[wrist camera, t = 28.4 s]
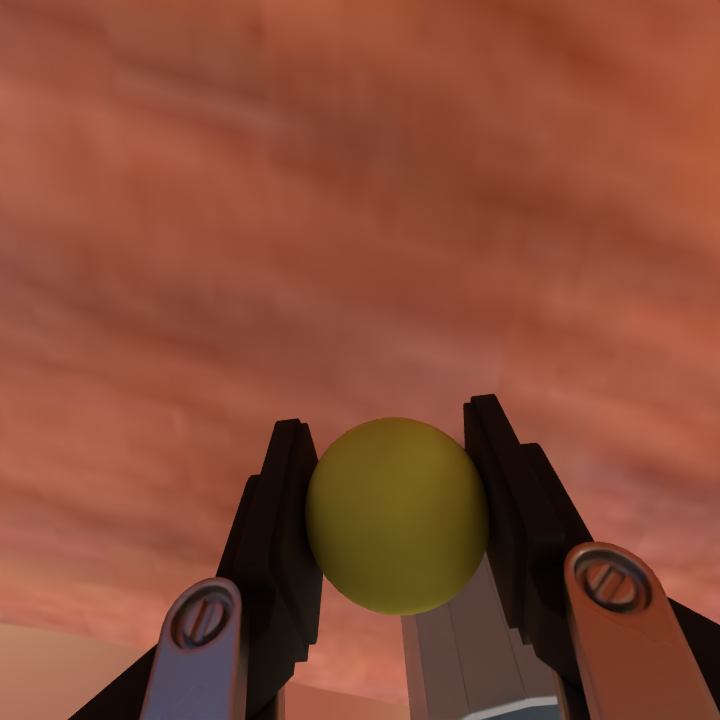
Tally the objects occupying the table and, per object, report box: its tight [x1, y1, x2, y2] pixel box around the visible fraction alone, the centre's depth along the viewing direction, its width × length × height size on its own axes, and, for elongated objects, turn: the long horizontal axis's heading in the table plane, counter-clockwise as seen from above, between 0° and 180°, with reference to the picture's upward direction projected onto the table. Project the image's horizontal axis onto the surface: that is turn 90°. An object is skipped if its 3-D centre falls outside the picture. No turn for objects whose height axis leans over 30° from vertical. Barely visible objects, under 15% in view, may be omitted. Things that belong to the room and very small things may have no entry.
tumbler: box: [401, 550, 561, 720], centre depth 17 cm, size 9×9×10 cm
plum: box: [305, 417, 490, 615], centre depth 9 cm, size 4×4×4 cm
